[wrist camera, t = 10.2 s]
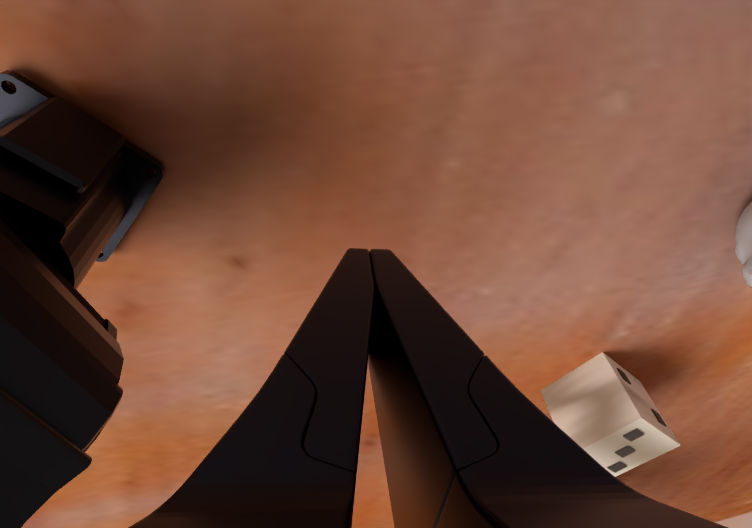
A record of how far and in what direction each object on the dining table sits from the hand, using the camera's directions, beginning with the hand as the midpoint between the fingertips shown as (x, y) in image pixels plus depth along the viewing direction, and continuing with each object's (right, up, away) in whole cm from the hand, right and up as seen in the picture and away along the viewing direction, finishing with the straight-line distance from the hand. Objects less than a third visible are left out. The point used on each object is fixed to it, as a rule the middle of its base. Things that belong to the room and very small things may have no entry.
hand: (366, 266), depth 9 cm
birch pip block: (+15, -8, +23) cm, 29 cm away
